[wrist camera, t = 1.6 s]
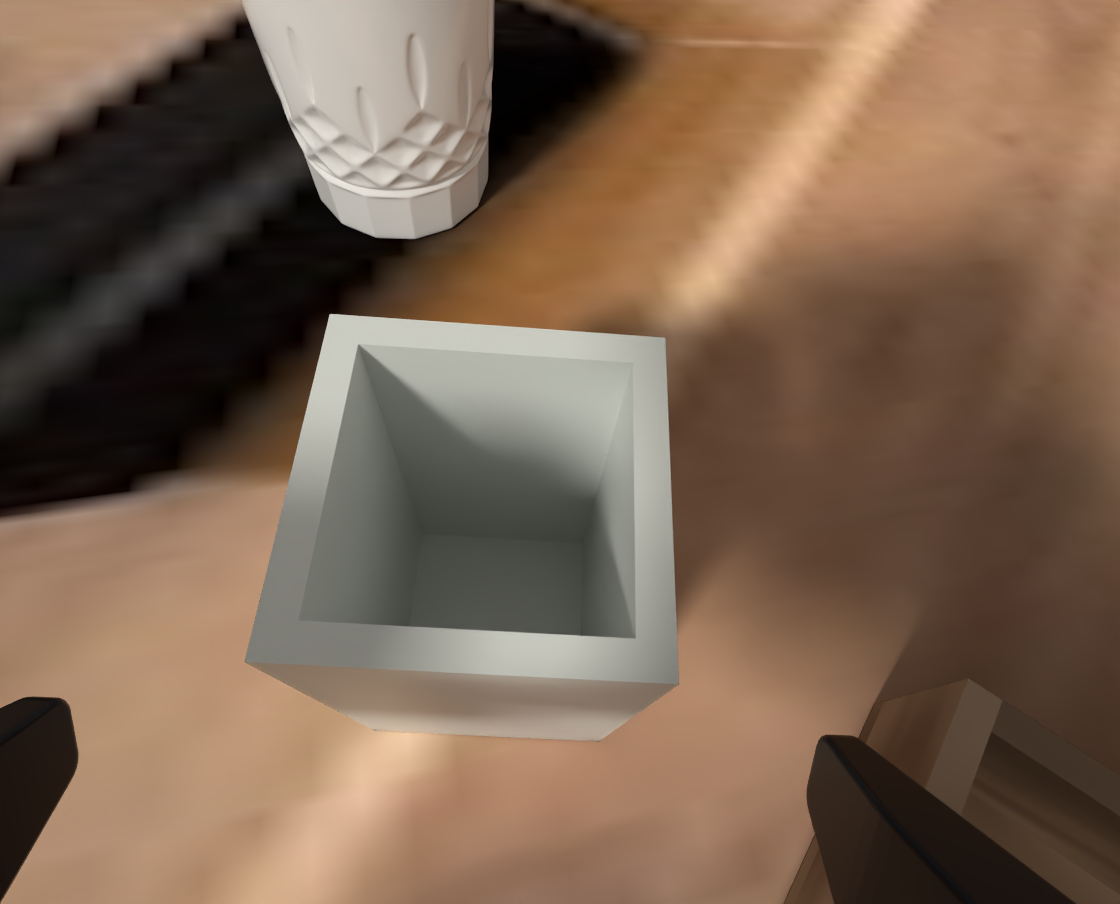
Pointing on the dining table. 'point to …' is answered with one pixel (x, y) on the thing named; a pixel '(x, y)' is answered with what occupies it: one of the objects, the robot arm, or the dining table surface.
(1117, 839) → the crate
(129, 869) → the dining table surface
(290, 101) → the white cup
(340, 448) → the box
